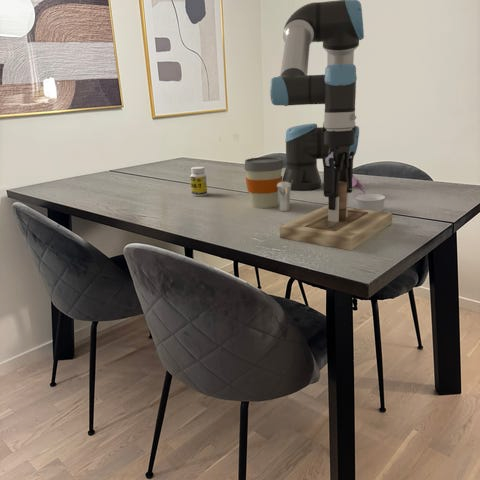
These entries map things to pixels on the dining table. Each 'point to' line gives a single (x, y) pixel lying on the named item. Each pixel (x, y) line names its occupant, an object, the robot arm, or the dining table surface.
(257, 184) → the reusable coffee cup
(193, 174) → the supplement bottle
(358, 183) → the lily
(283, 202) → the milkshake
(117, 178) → the dining table surface
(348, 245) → the seat board
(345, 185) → the peg
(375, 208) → the ramekin
